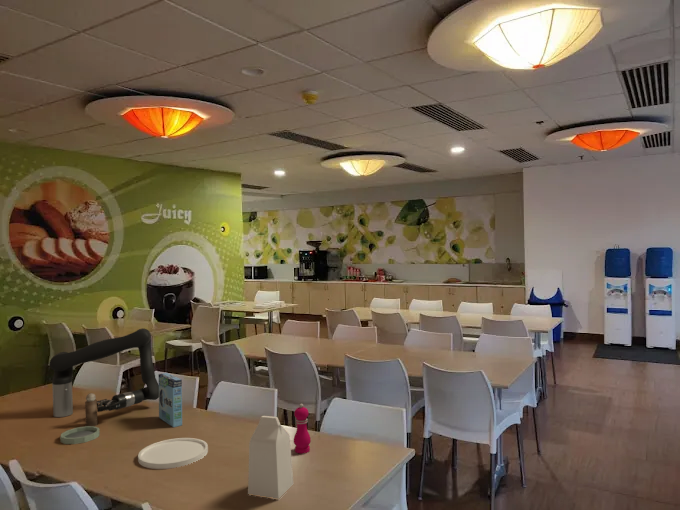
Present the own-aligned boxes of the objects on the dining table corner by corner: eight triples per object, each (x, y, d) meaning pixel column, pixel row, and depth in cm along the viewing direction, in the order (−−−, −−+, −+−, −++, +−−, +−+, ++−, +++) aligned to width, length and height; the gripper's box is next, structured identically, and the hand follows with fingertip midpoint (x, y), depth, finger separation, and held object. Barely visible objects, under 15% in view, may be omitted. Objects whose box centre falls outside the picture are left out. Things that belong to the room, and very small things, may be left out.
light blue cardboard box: (158, 418, 263) (157, 374, 263) (168, 416, 266) (167, 372, 266) (173, 427, 248) (171, 380, 248) (183, 425, 251) (182, 379, 251)
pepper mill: (313, 448, 217) (312, 401, 217) (307, 455, 211) (305, 406, 210) (298, 446, 220) (296, 400, 220) (291, 453, 213) (289, 405, 213)
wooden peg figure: (83, 425, 255) (82, 393, 255) (94, 422, 259) (93, 391, 259) (89, 427, 252) (88, 395, 251) (99, 424, 256) (98, 392, 256)
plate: (137, 450, 222) (136, 444, 222) (202, 439, 233) (202, 433, 233) (139, 475, 196) (139, 469, 196) (213, 461, 207) (212, 455, 207)
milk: (247, 495, 177) (245, 420, 177) (264, 480, 188) (262, 410, 188) (278, 500, 173) (276, 423, 173) (293, 485, 184) (291, 413, 183)
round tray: (54, 439, 236) (54, 434, 236) (88, 429, 249) (88, 424, 249) (71, 446, 227) (71, 441, 227) (105, 435, 239) (105, 430, 239)
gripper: (115, 391, 273) (85, 398, 260) (130, 395, 265) (100, 403, 252) (116, 405, 273) (86, 413, 260) (131, 409, 265) (100, 418, 252)
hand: (93, 408), depth 256 cm, fingers open, 8 cm apart
